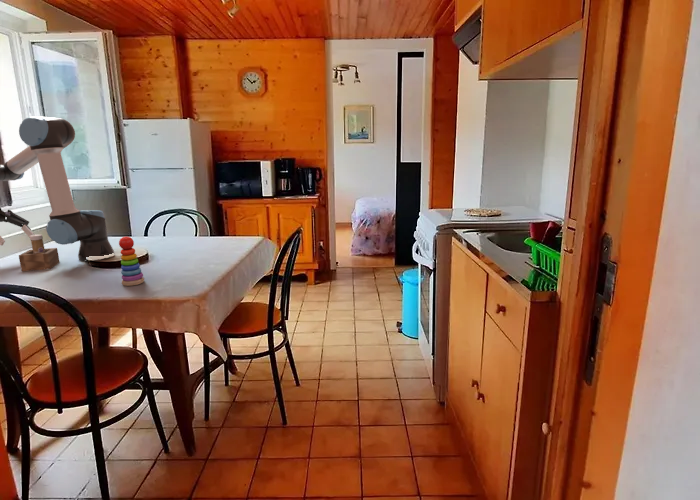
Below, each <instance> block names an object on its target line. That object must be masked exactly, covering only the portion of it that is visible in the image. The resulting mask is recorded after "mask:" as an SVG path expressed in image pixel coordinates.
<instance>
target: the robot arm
mask: <svg viewBox="0 0 700 500" xmlns="http://www.w3.org/2000/svg"><path fill="white" fill-rule="evenodd" d="M18 134H19V135H18V136H19V137H20V140H21V141H22V142H23V143H24V144H25V145H27V147H25V148H24V149H23V150H22V151H20V152H19V153H17V154H15V156H13V157H11V158H10V159H9V160H7V161H6V162H4V163H1V164H0V182H7V181H17V180H21V179H23V178H24V175H25V172H26V171H28V170H30V169H31V168H33V167H34V166H36V165H37V164H39V167H40V172H41V175H42V179H43V182H44V185H45V190H46V194H47V198H48V200H49V205H50V208H51V212H50V213H49V214H48V217H49V219H50V220H49V221H48V222H47V224H46V226H45V227H46V228H45V231H46V233H47V236H48V237H49V238H50V240H52V241H53V242H55V243H56V244H58V245H61V246H62V245H64V246H65V245H69V244H70V245H72V244H74V243H76V242H79V243H80V244H79V247H78V248H79V250H78V254H77V257H78V261H81V262H86V261H85V260H86V257H89V256H104V255H109V254H112V253H114V254H115V251H114V249H113V246H112V245H111V243H110V241H109V236H108V231H107V224H106V217H105V213H104V211H103V210H99V209H98V210H97V209H94V210H93V209H91V210H90V209H85V210H83V209H82V210H79V209H78V208H76V206H75V203H74V199H73V195H72V192H71V188H70V184H69V181H68V179H69V178H68V176H67V173H66V168H65V165H64V161H63V157H62V151H63V150H64V149H65V148H67V147H68V146H69V145H71V144H72V143H73V142H74V141H75V138H76V130H75V128H74V126H73V125H72V123H70V122H69V121H68V120H66V119H64V118H61V117H51V116H39V115H38V116H37V115H35V116H28V117H26V118H24V119H22V121H21V123H20V124H19V129H18ZM3 222H4V223H9V224H12V225H14V226H16V227H17V226H18V227H20V228H21V230H22V231H23V232H24V233H25V234H26V236H27V237H29V239H30V236H31V235H36V234H35V233H34V232H33V231H32V229H31V228H30V227H29V224H30V221H29V220H27V219H26V218H23V217H22V216H20V215H18V214H16V213H14V212H13V211H12V210H11V209H7V210H6V211H3V209H2V208H1V206H0V223H3ZM5 243H6V240H5V239H4V238H3V237H2V236H1V235H0V246H3V245H4V244H5Z"/></svg>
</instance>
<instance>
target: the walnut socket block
mask: <svg viewBox="0 0 700 500" xmlns="http://www.w3.org/2000/svg"><path fill="white" fill-rule="evenodd" d="M44 249H45V253H37V254H33V249H28V250H26V251H25V252H23V253H20V254H19V255H18V259H19V264H20V269H21V272H28V271H29V272H30V271H41V270H51V269H53V267H56V266H57V265H58V264H59V263H61V262H60V261H61V260H60V257H59V252H58V248H57V247H51V248H50V247H49V248H44Z"/></svg>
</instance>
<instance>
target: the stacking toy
mask: <svg viewBox="0 0 700 500" xmlns="http://www.w3.org/2000/svg"><path fill="white" fill-rule="evenodd" d="M118 245H119V247H120V249H121V250H120V254H121V256H120V258H121V261H120V264H121V266H120V267H121V268H120V269H121V271H120V272H121V273H120V274H121V284H122V285H123V286H125V287H126V286H127V287H133V286H137V285H141V284H142V283H144V282H145V278H144V277H143V276H144V273H143V272H142V269H141V266H140V263H139V259H138V254H137V253H136V250H135V248H133V247H134V245H135V241H134V239H133V238H131V237H130V236H122V237H121V238H120V239H119V241H118Z"/></svg>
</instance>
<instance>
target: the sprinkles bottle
mask: <svg viewBox="0 0 700 500" xmlns="http://www.w3.org/2000/svg"><path fill="white" fill-rule="evenodd" d="M43 239H44V238H43V234H42V233H41V234H40V233H39V234H35V235H31V236H30V238H29V240H30V242H31V250H33V254H37V253H45V249H46V248H45V245H44V240H43Z"/></svg>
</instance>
